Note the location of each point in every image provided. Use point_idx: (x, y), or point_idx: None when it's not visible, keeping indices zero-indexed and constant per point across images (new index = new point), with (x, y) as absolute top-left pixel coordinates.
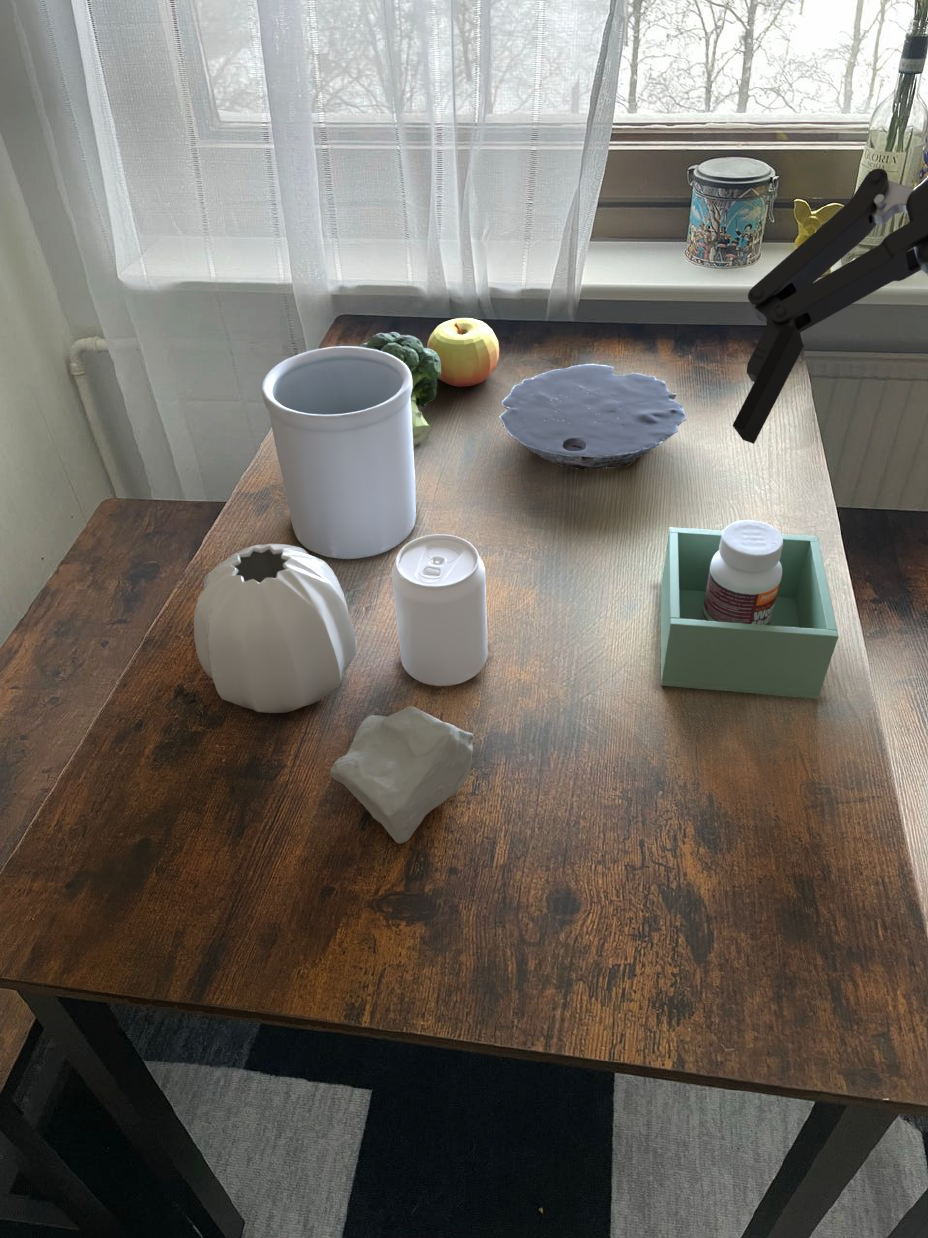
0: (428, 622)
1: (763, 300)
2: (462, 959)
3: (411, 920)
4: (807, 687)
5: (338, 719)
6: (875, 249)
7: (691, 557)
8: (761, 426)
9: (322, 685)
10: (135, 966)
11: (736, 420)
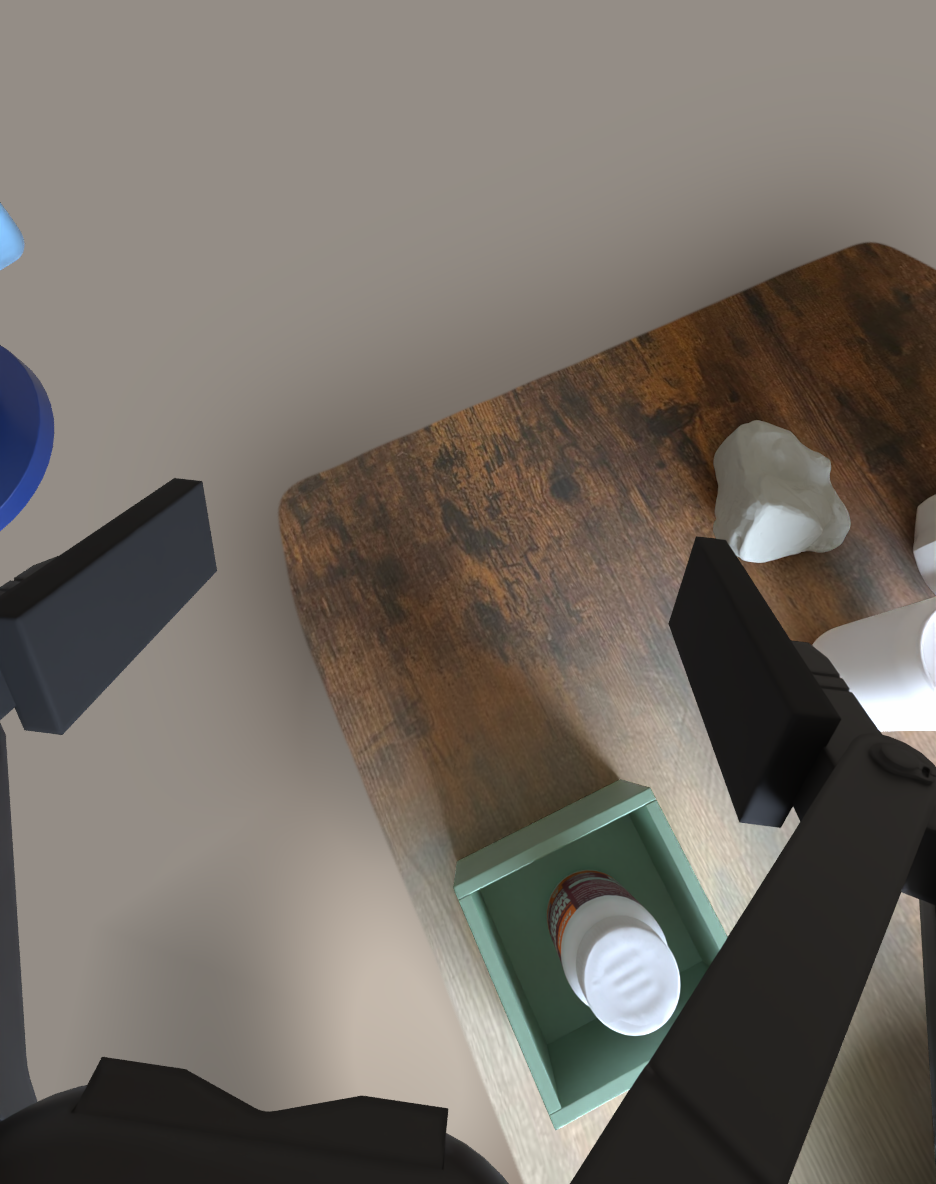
0: (901, 607)
1: None
2: (604, 408)
3: (659, 412)
4: (471, 857)
5: (877, 543)
6: (780, 1139)
7: None
8: (678, 638)
9: (925, 530)
10: (802, 282)
11: (726, 544)
